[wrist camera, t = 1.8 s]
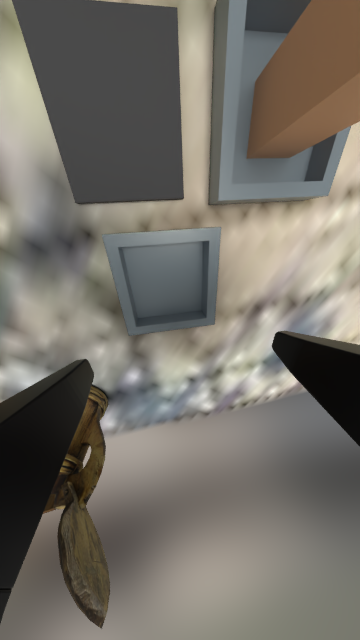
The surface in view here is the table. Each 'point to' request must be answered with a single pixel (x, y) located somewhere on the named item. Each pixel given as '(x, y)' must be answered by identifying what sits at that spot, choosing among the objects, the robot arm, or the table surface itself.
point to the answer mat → (110, 95)
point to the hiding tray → (236, 108)
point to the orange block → (309, 82)
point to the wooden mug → (83, 514)
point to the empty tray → (165, 277)
